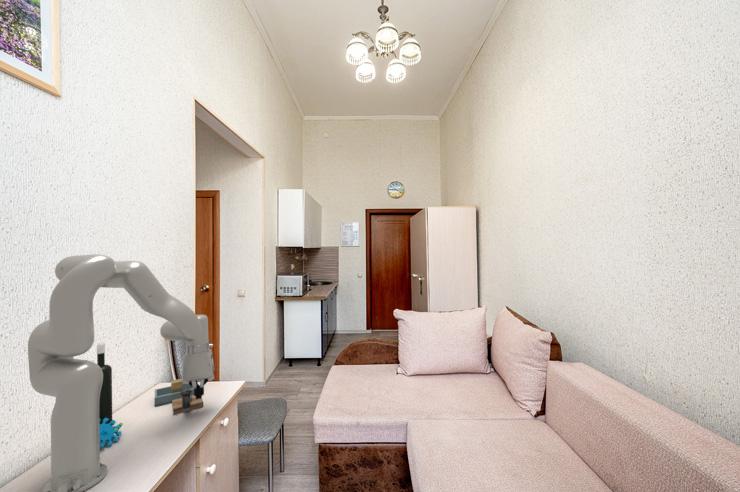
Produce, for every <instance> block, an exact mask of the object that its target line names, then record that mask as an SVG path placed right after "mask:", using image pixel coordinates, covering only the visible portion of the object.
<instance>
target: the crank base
mask: <svg viewBox="0 0 740 492" xmlns="http://www.w3.org/2000/svg"><path fill="white" fill-rule="evenodd" d="M171 404H172V405H171V406H172V407H171V408H172V414H173V416H175V415H178V414H182V413H184V412H183V408H182V398H180V399H176V400H172V403H171ZM202 407H203V408H204V399H203V396H202V397H201V399H199V398H198V399H196V396H194V395H193V396H192V400H191V401H190V410H189V411H186V412H190V411H194V410H199V409H202ZM186 412H185V413H186Z"/></svg>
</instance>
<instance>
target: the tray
mask: <svg viewBox="0 0 740 492" xmlns="http://www.w3.org/2000/svg"><path fill="white" fill-rule="evenodd" d="M186 389H191V390H192V393H190V395H191V396H193V395H194V388H193V387H192V386H191V385H189V384H183V390H186ZM180 398H182V395H180V392H177V393H172V394H171V385H170V386H165V387H160V388H156V389H154V407H155V408H157V407H160V406H166V405H169V404H172V400H176V399H180Z"/></svg>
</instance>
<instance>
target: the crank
mask: <svg viewBox="0 0 740 492" xmlns="http://www.w3.org/2000/svg"><path fill="white" fill-rule="evenodd" d="M190 393H192V390H191V389H186V390H183V391H181V392H180V395H182V408H183V413H186V411H187V412H190V411H189V410H190V401H191V400H192V396H191V395H190Z"/></svg>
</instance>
